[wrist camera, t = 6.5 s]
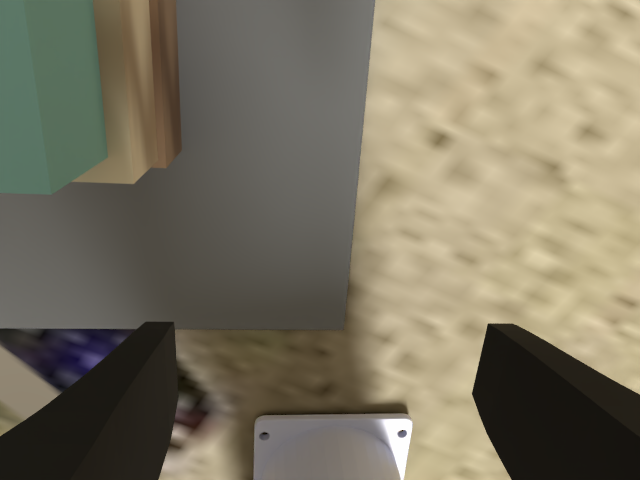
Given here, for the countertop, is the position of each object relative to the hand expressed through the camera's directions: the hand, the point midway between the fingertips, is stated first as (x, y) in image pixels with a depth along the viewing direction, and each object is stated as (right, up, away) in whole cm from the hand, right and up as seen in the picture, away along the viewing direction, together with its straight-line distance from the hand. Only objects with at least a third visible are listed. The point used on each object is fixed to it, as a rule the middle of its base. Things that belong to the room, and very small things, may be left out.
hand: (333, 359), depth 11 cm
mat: (-7, +7, +7) cm, 12 cm away
